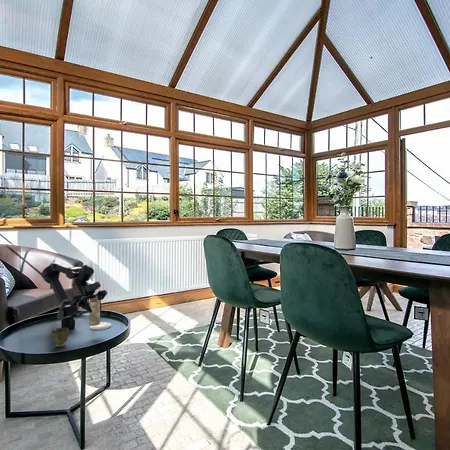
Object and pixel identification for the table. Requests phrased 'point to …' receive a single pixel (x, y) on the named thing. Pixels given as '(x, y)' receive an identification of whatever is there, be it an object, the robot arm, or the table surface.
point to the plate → (101, 326)
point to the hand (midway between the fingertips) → (96, 311)
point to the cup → (60, 336)
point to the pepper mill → (94, 312)
